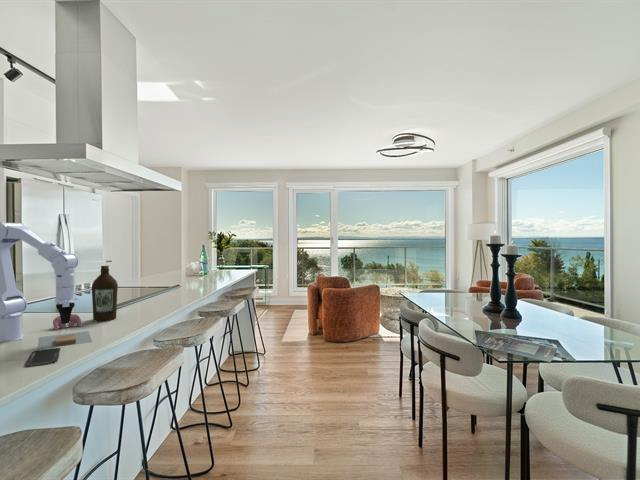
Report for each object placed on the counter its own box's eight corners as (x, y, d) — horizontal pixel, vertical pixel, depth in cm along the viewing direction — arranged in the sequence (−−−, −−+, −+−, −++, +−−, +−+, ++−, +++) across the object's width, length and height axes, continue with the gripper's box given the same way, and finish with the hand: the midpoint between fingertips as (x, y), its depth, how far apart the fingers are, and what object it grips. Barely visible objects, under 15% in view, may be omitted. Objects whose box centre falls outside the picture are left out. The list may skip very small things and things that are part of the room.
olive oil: (92, 317, 176) (92, 265, 175) (118, 315, 180) (118, 264, 180) (90, 322, 166) (90, 267, 166) (117, 320, 171) (117, 266, 170)
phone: (25, 364, 111) (32, 350, 124) (25, 368, 111) (32, 354, 124) (57, 360, 115) (61, 347, 128) (57, 364, 115) (61, 350, 128)
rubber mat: (39, 338, 141) (39, 337, 141) (88, 332, 151) (88, 331, 151) (37, 350, 127) (37, 349, 127) (92, 342, 136) (92, 341, 136)
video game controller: (80, 329, 161) (78, 313, 163) (82, 326, 158) (81, 310, 160) (52, 333, 154) (51, 317, 156) (54, 330, 151) (53, 314, 153)
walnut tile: (55, 336, 137) (55, 341, 130) (74, 334, 140) (75, 339, 134) (55, 340, 137) (55, 346, 131) (74, 338, 141) (75, 343, 134)
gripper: (79, 288, 133) (79, 325, 133) (77, 283, 145) (77, 318, 145) (55, 289, 129) (55, 328, 129) (54, 284, 141) (55, 320, 141)
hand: (65, 323), depth 137 cm, fingers closed
